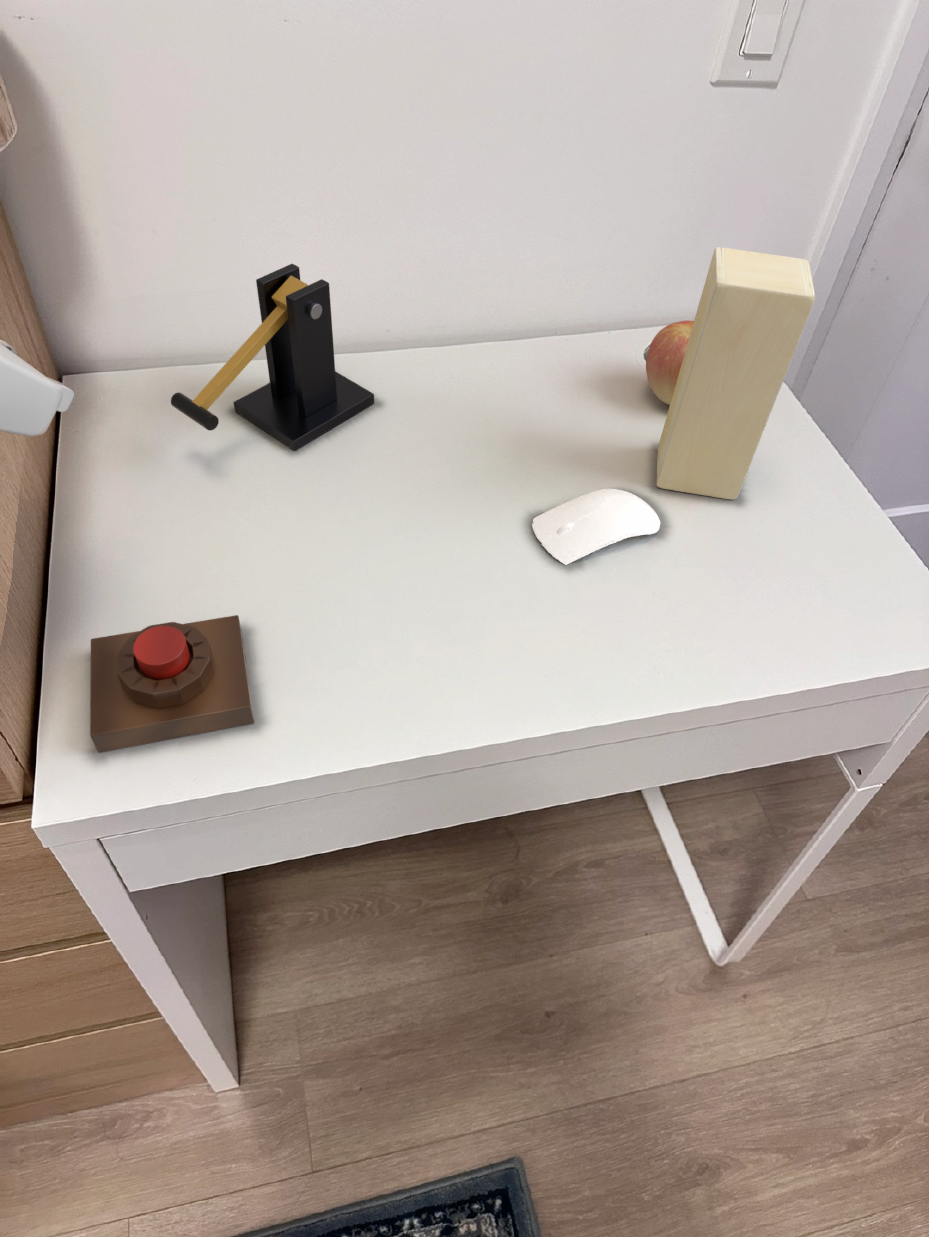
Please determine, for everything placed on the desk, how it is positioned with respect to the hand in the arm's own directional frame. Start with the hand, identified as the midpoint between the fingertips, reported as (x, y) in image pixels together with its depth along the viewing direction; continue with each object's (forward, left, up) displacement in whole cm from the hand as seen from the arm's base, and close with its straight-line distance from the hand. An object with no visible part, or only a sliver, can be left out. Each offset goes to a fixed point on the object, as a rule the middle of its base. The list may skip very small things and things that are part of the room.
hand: (37, 377), depth 65 cm
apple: (+37, +49, -16) cm, 63 cm away
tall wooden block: (+43, +38, -16) cm, 59 cm away
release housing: (+18, -9, -15) cm, 25 cm away
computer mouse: (+38, +25, -16) cm, 48 cm away
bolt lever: (+4, +19, -7) cm, 21 cm away
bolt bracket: (+5, +25, -15) cm, 29 cm away
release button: (+18, -9, -12) cm, 23 cm away
